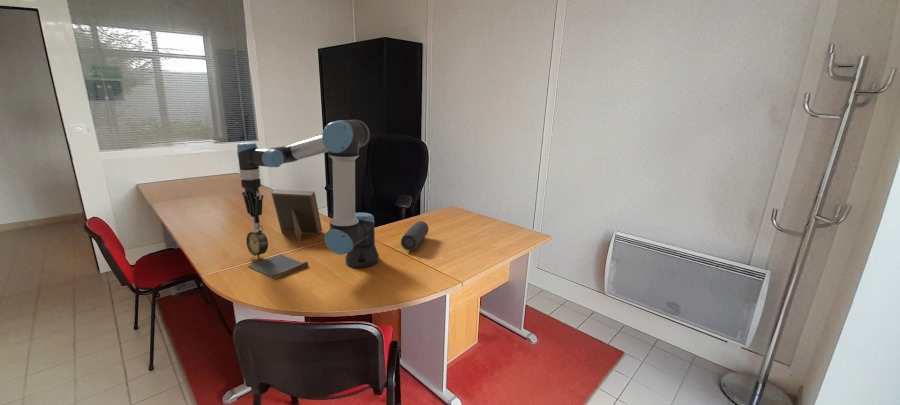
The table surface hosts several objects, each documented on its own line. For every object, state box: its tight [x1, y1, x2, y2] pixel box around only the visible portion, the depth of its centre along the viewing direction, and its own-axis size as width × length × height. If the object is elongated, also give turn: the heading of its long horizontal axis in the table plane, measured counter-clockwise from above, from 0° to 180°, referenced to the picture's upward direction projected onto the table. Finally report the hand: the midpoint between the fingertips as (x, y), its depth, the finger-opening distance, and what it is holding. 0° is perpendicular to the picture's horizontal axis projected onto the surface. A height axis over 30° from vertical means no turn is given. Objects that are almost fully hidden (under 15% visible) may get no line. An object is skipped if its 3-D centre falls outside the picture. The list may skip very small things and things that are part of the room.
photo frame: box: [270, 188, 323, 241], centre depth 199 cm, size 15×22×25 cm
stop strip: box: [272, 260, 309, 280], centre depth 159 cm, size 2×16×2 cm, turn 147°
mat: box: [247, 254, 302, 279], centre depth 165 cm, size 20×16×1 cm
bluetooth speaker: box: [400, 220, 430, 251], centre depth 193 cm, size 23×9×10 cm, turn 168°
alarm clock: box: [245, 224, 269, 261], centre depth 170 cm, size 11×5×16 cm, turn 57°
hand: (256, 229), depth 168 cm, fingers closed
